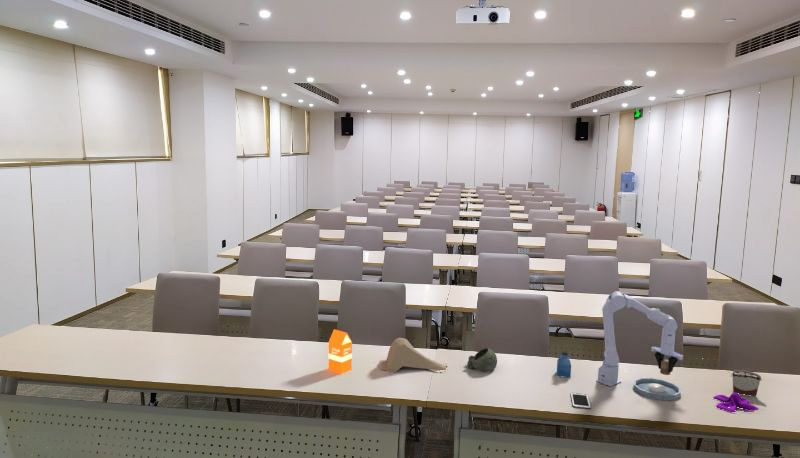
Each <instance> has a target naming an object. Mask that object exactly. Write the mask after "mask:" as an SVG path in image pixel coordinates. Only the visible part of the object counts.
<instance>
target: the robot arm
mask: <svg viewBox="0 0 800 458" xmlns="http://www.w3.org/2000/svg"><path fill="white" fill-rule="evenodd" d="M624 308H634V309H635V310H637V311H639V312H641V313H643V314H645V315H646V318H647V319H649V320H650V321H652V322H654V323H655V324H658V325H659V326H662V331H661V341H660V347H658V346H652V347H651V349H650V351H651V352H655V353H654V357H655V359H656V362H657V366H658V369H659V370H660V368H661V360H662V359H664V358H665V356H667V357H668V359H667V360H669V372H670V373H671V372H673V371H674V368H675V365H676V364H677V362H678V361H682V360H683V359H684V355H683V354H680V353H679V352H676V351H675V342H676V330H678V327H679V326H678V322H677V321H676V320H675V318H674V317H672V315H669V314H667V313H664V312H662V311H661V309H659V308H655V307H653V308H650V307H648V306H647V305H645V304H643V303H642V302H640V301H638V300H637V299H635V298H634V297H632V296H630V295H628V294H625V293H622V292H621V291H618V290H616V291H613V292H612V293H611V294H609V295H608V296H607V299H606V301H605V303H604V304H603V306H602V309H601V311H602V321H603V322H602V323H603V333H604V342H605V343H604V346H605V347H604V351H603V356H604V360H603V361H602V365H601V366H600V367H598V371H597V374H598V375H597V379H595V381H596V382H598V383H601V384H603V385H606V386H609V387H612V386H614V385H617V384H620V383H622V380H620V379H619V378H618V377H619V367H620V364H619V363H620V357H619V355H618V351H617V346H616V337H615V336H616V335H615V325H614V313H616V312H617V311H619V310H621V309H624Z"/></svg>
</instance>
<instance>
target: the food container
mask: <svg viewBox="0 0 800 458" xmlns="http://www.w3.org/2000/svg"><path fill="white" fill-rule="evenodd" d="M730 376H731V378H732V393H739V394H745V395H744V396H746V395H751V396H750V397H753V396H756V397H757V394H758V391H759V386H760V382H762V381H763V380H762V376H761V375H760V374H758V373H755V372H753V371H748V370H744V369H738V370H737V369H736V370H733V371H732V373H731V374H730Z"/></svg>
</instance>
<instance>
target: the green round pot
mask: <svg viewBox="0 0 800 458" xmlns="http://www.w3.org/2000/svg"><path fill="white" fill-rule="evenodd" d="M466 363H467V364H466V365H467V368H468V369H469V370H474V369H476V370H479V371H481V372H492V371H494V370H495V369H496V367H497V365H498V357H497V354H496V352H494V350H493V349H491V348H487V347H485V348H482V349H480V350H479V351H478V352H476V354H475V355H469V357H468V360H467V362H466Z"/></svg>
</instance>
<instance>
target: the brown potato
mask: <svg viewBox="0 0 800 458" xmlns="http://www.w3.org/2000/svg"><path fill="white" fill-rule="evenodd" d="M659 374H662V375H664V376H665V375H666V376H669V375H671V372H669V360H668V359H662V360H661V368H660V369H659Z"/></svg>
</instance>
